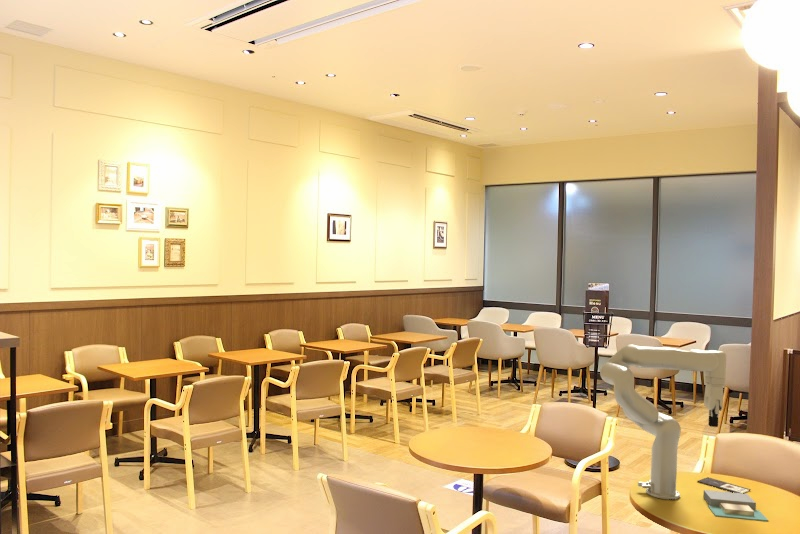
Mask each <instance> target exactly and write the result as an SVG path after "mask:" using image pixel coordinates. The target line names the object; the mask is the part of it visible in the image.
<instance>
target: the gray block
mask: <svg viewBox="0 0 800 534" xmlns="http://www.w3.org/2000/svg"><path fill="white" fill-rule="evenodd" d="M703 499H704V500H705V501H706V502H707V504H708V505H709V506H719V504H720V502H723V503H734V504H745V505H748V506H749V507H750V508H751V509H752V510H757V508H756V507H757V502H756V501H755V500H753V498H752V497H751V496H750V495H749V494H748V493H744V494H743V493H732V492H729V491H722V490H721V491H720V490H719V491H718V490H708V489H703Z"/></svg>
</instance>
